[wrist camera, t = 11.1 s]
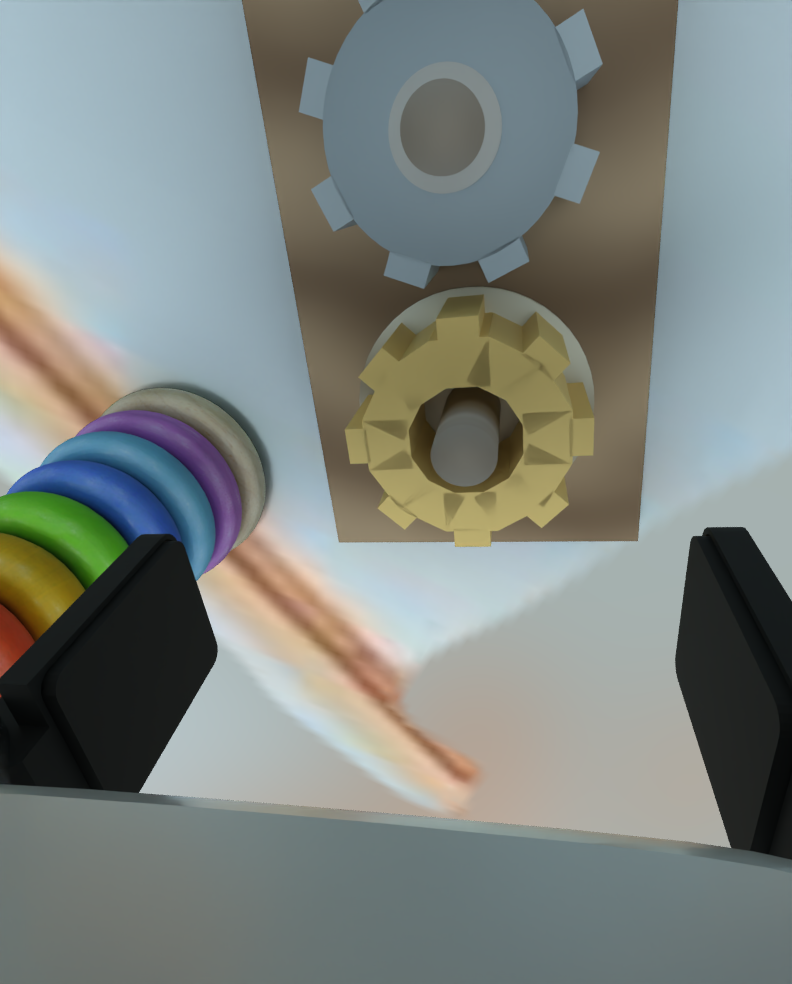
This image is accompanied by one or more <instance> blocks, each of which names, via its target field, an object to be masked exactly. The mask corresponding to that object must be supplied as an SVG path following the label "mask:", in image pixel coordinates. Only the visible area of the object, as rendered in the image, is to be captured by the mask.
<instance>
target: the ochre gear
mask: <svg viewBox="0 0 792 984" xmlns="http://www.w3.org/2000/svg"><path fill="white" fill-rule="evenodd" d="M570 364H571V363H570V360H569V356H568V353H567V349H566V346H565V342H564V339H563V335H562V334H561V333H560V332H558V331H557V330H556V329H555V328H554V327H553V326H552V325H551V324H550V323H548V322H547V321H546V320H545V319H544V318H543V317H542V316H541V315H540V314H538V313H537V312H535V313H534V314H533V315H532V316H531V317H530V318H529V319H528V321H527V322H526V323H525V324H524V325H523V326H520V325H518V324H516V323H514V322H512V321H510V320H508V319H506V318H504V317H502V316H500V315H498V314H495V313H493V312H489V313H485V303H484V294H482V295H471V296H460V297H449V298H447V300H446V302H445V304H444V305H443V307H442V309H441V311H440V313H439V314H438V316H437V318H436V321H435V322H433V323H432V324H430V325H429V326H428V327H426V328H425V329H423V330H422V331H421V332H419V333H418V334H414V333H413V332H412V331H411V330H410V329H408V328H407V327H406V326H405V325H404V324H403V323H401V324H400V325H399V326H398V327H397V329H396V330H395V331H394V332H393V334H392V335H391V336H390V338H389V339H388V340H387V341H386V343H385V344H384V345H383V346H382V348H381V349H380V350H379V351H378V353H377V354H376V355H375V357H374V358H373V359H372V360H371V362H370V363H369V364H368V365H367V367H366V368H365V369H364V371H363V372H362V373H361V374H360V376H359V377H358V378H359V379H361V380H362V381H363V382H364V383H366V384H367V385H368V386H369V387H370V388H372V389H373V390H374V391H375V392H374V394H373V395H368V396H367V397H366V399H365V400H364V402H363V403H362V405H361V406H360V408H359V409H358V411H357V412H356V414H355V415H354V417H353V418H352V420H351V421H350V423H349V424H348V426H347V427H346V428H345V435H346V441H347V447H348V453H349V459H350V464H364V463H368V466H369V471H370V472H371V474H372V475H373V476H374V477H375V479H376V480H377V481H378V482H379V484H380V485H381V486H382V488H383V489H384V490H385V491H384V493H383V496H382V498H381V501H380V503H379V505H378V509H379V510H380V511H381V512H383V513H384V514H385V515H387V516H388V517H389V518H390V519H392V520H393V521H394V522H395V523H397V524H398V525H399V526H401V527H402V528H403V529H404V530H405V529H406V528H407V527H408V526H409V525H410V524H411V523H412V522H413V521H414V520H415V519H416V518H418V519H420V520H423V521H425V522H427V523H429V524H431V525H433V526H435V527H438V528H440V529H442V530H444V531H446V532H449V531H454V540H455V547H488V546H491V536H492V531H499V530H501V529H503V528H505V527H507V526H508V525H510V524H512V523H514V522H516V521H518V520H520V519H522V518H524V517H526V516H527V517H529V518H530V519H531V520H532V521H534V522H535V523H536V524H537V525H538V526H540V527H541V528H542V527H544V526H545V525H546V524H547V523H548V522H549V521H550V520H552V519H553V518H554V517H555V516H556V515H557V514H559V513H560V512H561V511H562V510H563V509H564V508H566V507H567V506H568V505H569V502H568V495H567V489H566V483H565V477H564V476H565V474H566V473H567V471H568V470H569V468H570V467H571V465H572V462H573V456H592V455H593V448H594V415H593V412H592V409H591V406H590V403H589V399H588V396H587V393H586V390H585V387H584V384H583V382H579V383H566V379H565V375H564V374H563V371H564V370H565V369H566V368H567V367H568V366H569V365H570ZM464 387H479V388H481V389H484V390H486V391H488V392H490V393H492V394H494V395H496V396H498V397H500V398H502V399H504V400H506V401H507V402H508V404H509V405H510V407H511V408H512V410H513V411H514V413H515V414H516V416H517V417H518V419H519V422H518V424H517V425H516V427H515V429H514V430H513V432H512V434H511V436H510V437H508V438H507V439H505V440H503V441H501V442H500V443H499V445H498V460H497V465H496V468H495V470H494V471H493V473H492V474H491V475H490V477H489V478H487V479H486V480H485V481H483V482H482V483H479V484H477V485H474V486H467V487H463V486H456V485H453V484H450V483H448V482H446V481H445V480H443V479H442V478H441V477H440V476H439V475H438V474H437V473H436V471H435V470H434V468H433V465H432V462H431V448H432V445H433V442H434V438H435V435H436V433H435V432H434V430H433V429H432V427H431V426H430V425H429V423H428V422H427V421H426V416H425V406H424V403H425V402H426V401H428V400H429V399H431V398H432V397H434V396H435V395H437V394H438V393H440V392H442V391H443V390H445V389H447V388H464Z"/></svg>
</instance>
